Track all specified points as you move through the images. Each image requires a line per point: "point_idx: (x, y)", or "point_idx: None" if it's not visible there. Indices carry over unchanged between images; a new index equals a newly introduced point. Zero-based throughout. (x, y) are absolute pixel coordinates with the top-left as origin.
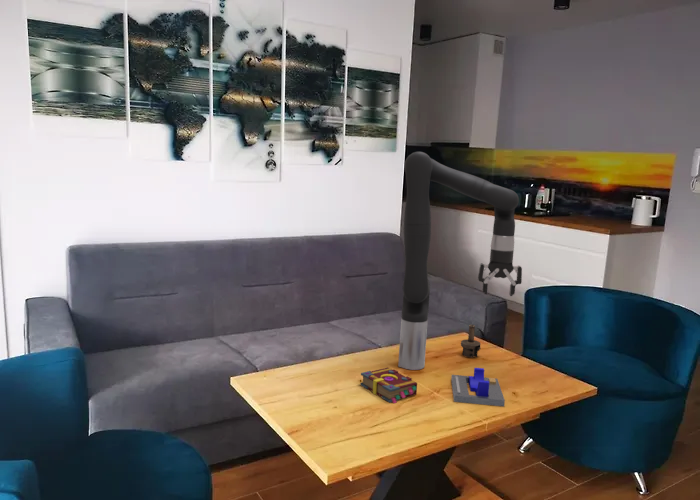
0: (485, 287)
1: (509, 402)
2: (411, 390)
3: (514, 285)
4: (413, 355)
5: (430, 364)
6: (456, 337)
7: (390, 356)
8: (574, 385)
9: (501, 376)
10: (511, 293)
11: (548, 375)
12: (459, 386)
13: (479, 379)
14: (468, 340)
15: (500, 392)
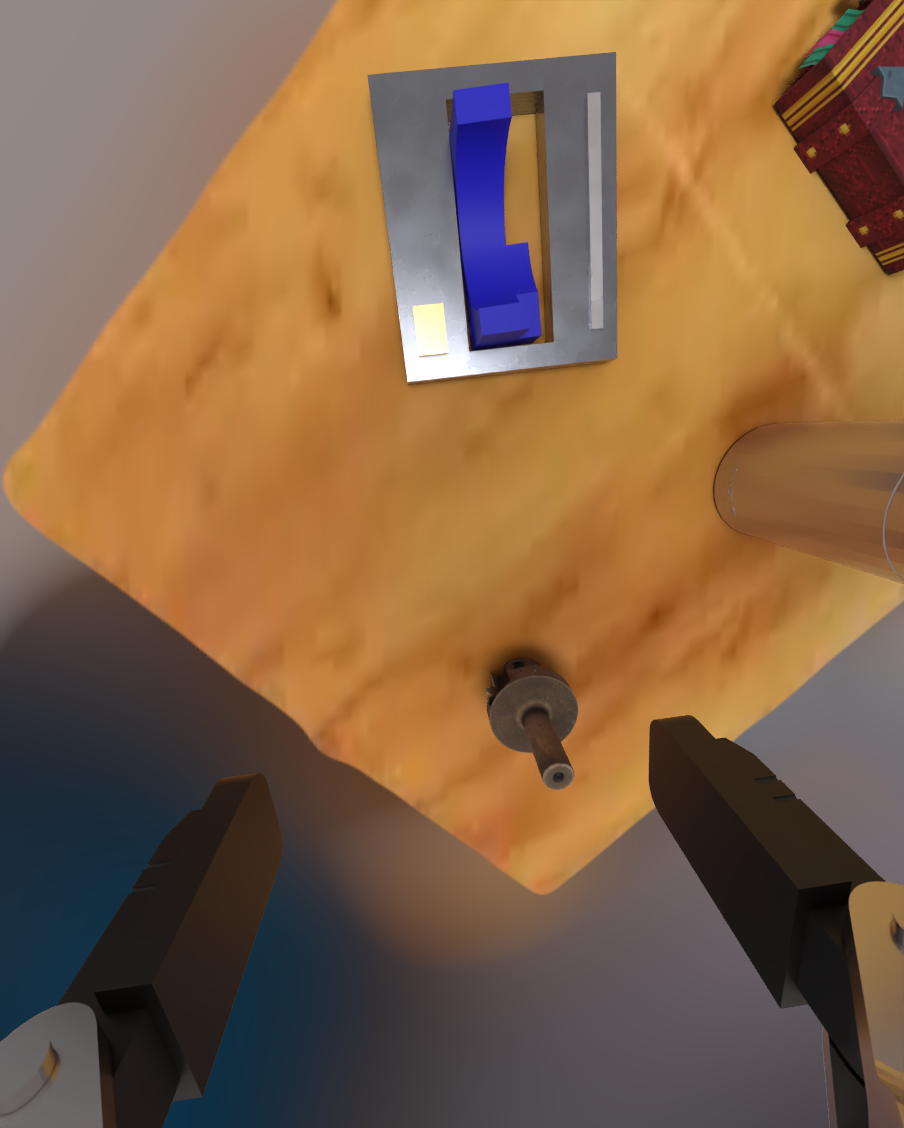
0: (774, 800)
1: (348, 167)
2: (826, 44)
3: (48, 1013)
4: (825, 423)
5: (685, 523)
6: (568, 852)
7: None
8: (75, 496)
9: (389, 490)
10: (223, 805)
11: (193, 574)
12: (586, 202)
13: (493, 298)
14: (548, 715)
15: (390, 188)
